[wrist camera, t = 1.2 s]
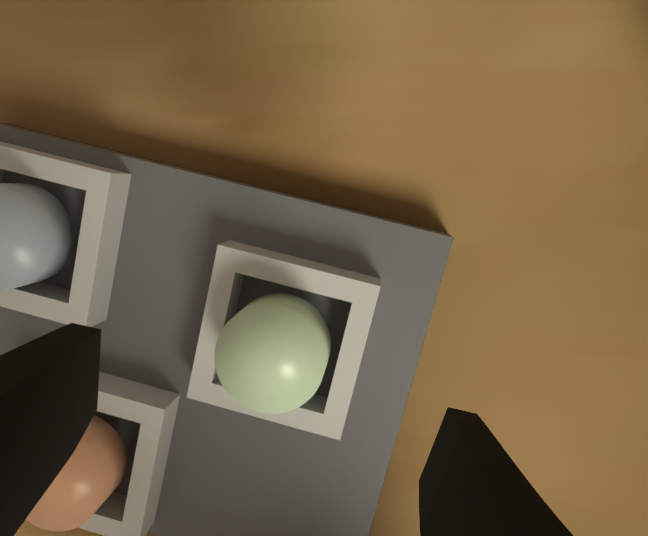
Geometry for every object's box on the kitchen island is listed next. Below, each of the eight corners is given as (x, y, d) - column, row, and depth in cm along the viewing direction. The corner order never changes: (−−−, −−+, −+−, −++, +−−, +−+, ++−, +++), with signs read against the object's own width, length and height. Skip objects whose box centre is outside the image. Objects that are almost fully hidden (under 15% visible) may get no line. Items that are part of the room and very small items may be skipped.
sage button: (318, 402, 19) (310, 426, 17) (222, 375, 20) (204, 397, 18) (342, 307, 19) (336, 322, 17) (243, 281, 19) (226, 293, 17)
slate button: (65, 292, 20) (29, 304, 18) (-25, 268, 20) (-70, 277, 18) (80, 196, 19) (45, 197, 17) (-13, 172, 19) (-58, 171, 17)
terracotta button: (118, 510, 21) (90, 543, 19) (32, 484, 21) (-4, 515, 19) (134, 426, 20) (107, 452, 18) (45, 401, 21) (9, 423, 19)
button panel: (353, 568, 23) (349, 624, 20) (-38, 452, 25) (-96, 488, 22) (448, 233, 21) (458, 241, 18) (3, 123, 22) (-56, 114, 19)
